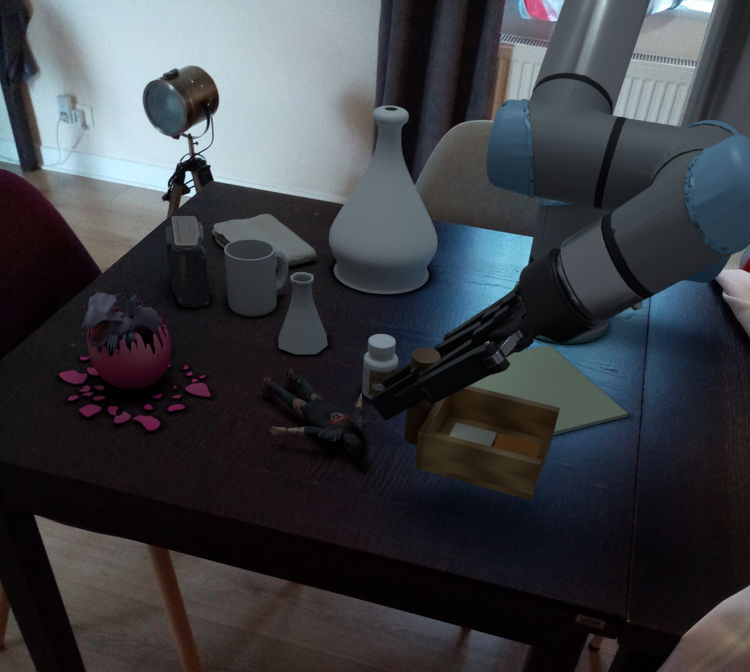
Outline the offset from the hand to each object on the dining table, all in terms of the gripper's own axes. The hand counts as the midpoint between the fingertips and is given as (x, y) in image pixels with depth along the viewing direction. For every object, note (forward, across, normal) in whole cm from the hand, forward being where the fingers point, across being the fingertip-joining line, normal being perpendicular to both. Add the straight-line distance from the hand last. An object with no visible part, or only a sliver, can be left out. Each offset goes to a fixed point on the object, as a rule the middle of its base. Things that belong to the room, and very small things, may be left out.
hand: (385, 399), depth 81 cm
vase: (+22, +50, +4) cm, 55 cm away
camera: (+39, +31, +22) cm, 54 cm away
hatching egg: (+33, +5, +17) cm, 38 cm away
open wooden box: (-4, 0, -10) cm, 11 cm away
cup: (+31, +32, +14) cm, 46 cm away
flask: (+23, +24, +6) cm, 34 cm away
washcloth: (+37, +49, +19) cm, 64 cm away
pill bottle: (+13, +17, -4) cm, 22 cm away
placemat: (+1, +25, -16) cm, 30 cm away
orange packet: (-8, 0, -12) cm, 14 cm away
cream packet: (-5, 0, -9) cm, 10 cm away
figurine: (+16, +7, -1) cm, 17 cm away
